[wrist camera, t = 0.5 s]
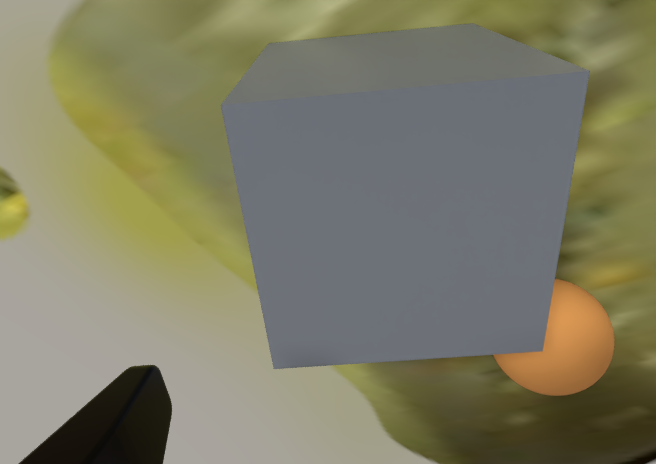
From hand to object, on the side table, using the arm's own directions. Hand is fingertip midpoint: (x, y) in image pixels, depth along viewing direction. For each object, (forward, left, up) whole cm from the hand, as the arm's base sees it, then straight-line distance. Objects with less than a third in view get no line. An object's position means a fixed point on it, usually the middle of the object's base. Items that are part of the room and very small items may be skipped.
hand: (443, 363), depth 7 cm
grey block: (0, 0, -13) cm, 13 cm away
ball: (-7, +9, -11) cm, 16 cm away
